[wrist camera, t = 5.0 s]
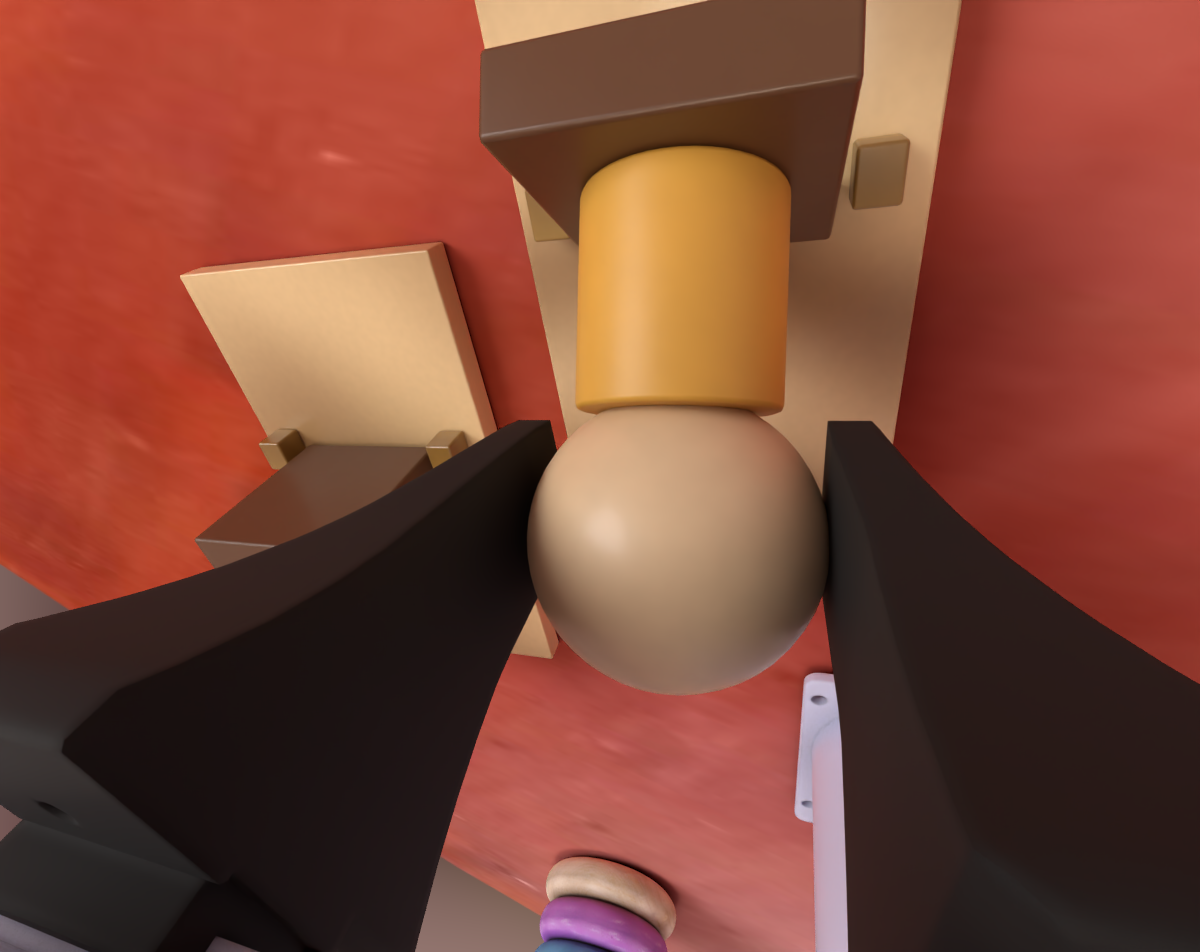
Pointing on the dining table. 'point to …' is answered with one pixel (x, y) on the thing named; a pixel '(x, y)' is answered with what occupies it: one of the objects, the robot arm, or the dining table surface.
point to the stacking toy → (604, 909)
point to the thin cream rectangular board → (355, 358)
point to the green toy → (310, 497)
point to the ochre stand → (816, 268)
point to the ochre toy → (681, 322)
